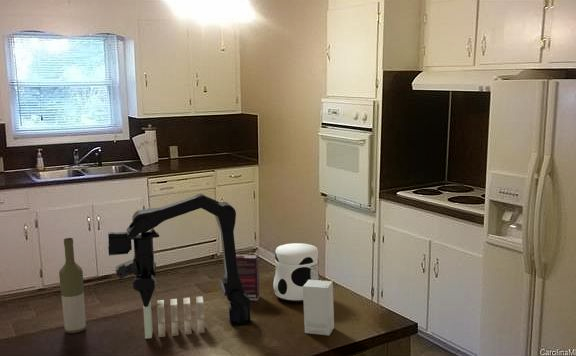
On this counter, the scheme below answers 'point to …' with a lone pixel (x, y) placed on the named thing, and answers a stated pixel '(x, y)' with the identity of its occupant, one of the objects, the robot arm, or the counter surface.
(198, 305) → the end domino
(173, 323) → the domino
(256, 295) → the supplement box
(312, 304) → the skincare box
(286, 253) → the milk container
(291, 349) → the counter surface
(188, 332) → the domino
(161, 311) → the domino
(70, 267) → the bottle
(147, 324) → the domino
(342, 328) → the counter surface
